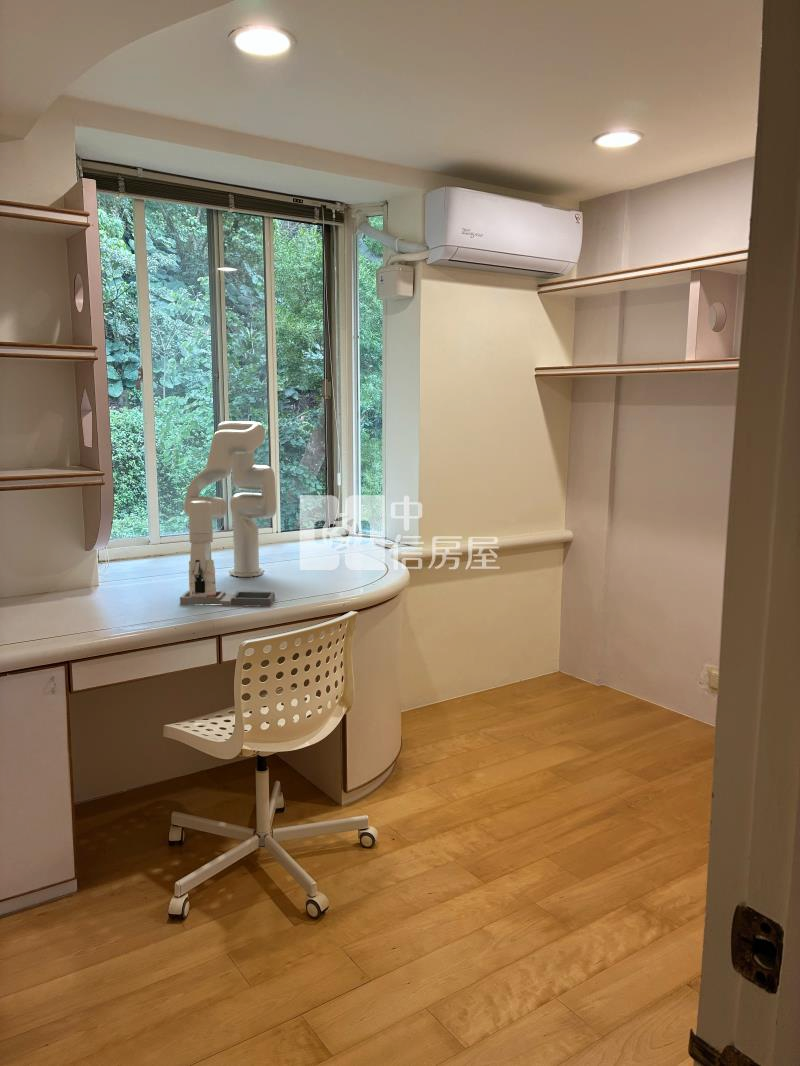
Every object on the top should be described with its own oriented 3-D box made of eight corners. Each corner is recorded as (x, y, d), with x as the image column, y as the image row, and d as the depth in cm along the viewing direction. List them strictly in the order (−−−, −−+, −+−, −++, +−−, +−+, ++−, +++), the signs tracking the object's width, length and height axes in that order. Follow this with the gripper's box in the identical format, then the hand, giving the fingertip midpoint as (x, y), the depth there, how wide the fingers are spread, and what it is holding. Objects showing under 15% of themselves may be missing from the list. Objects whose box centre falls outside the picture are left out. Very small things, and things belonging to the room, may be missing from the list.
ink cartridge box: (216, 599, 271) (215, 556, 268) (215, 602, 266) (214, 559, 263) (190, 599, 269) (189, 557, 266) (189, 603, 264) (188, 560, 261)
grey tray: (225, 598, 272) (225, 591, 271) (275, 599, 271) (274, 592, 271) (219, 605, 263) (218, 598, 262) (270, 606, 262) (270, 599, 262)
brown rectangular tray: (187, 597, 272) (187, 590, 271) (225, 598, 272) (225, 591, 271) (180, 604, 263) (179, 597, 263) (219, 605, 263) (218, 598, 262)
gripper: (197, 532, 272) (198, 583, 275) (182, 542, 255) (184, 596, 258) (218, 533, 272) (220, 584, 275) (205, 542, 255) (207, 597, 258)
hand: (202, 589), depth 267 cm, fingers closed on ink cartridge box, 5 cm apart
